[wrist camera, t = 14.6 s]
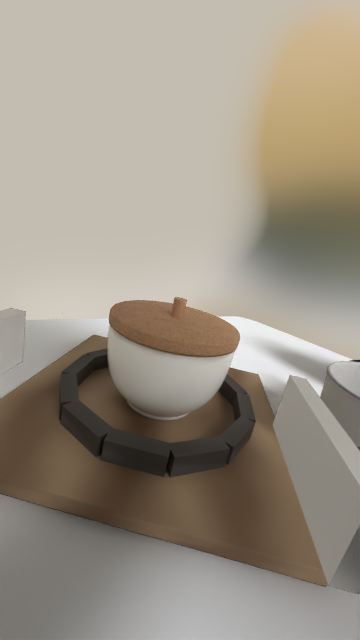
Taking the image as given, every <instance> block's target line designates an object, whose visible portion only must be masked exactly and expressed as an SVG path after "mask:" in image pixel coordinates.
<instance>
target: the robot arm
mask: <svg viewBox="0 0 360 640" xmlns="http://www.w3.org/2000/svg"><path fill="white" fill-rule="evenodd" d="M25 314H26V312H25V311H22V310H17V309H13V308H10V309H6V310H2V311H0V375H1V374H2V373H4V372H6V371H8V370H9V369H11V368H13V367H15V366H16V365H18V364H20V363H22V362H23V349H24V332H25ZM273 428H274V431H275V434H276V437H277V439H278V442H279V445H280V448H281V451H282V454H283V457H284V459H285V462H286V465H287V468H288V471H289V474H290V477H291V480H292V482H293V485H294V488H295V491H296V494H297V497H298V500H299V503H300V505H301V508H302V511H303V514H304V517H305V520H306V523H307V526H308V528H309V531H310V534H311V537H312V540H313V543H314V546H315V548H316V551H317V554H318V557H319V560H320V563H321V566H322V569H323V571H324V574H325V577H326V580H327V583H328V586H331V587H335V588H338V589H342V590H345V591H349V592H352V593H356V594H359V593H360V447H358V446H356V445H355V444H354V442H353V441H352V440H351V438H350V437H349V436H348V434H347V433H346V432H345V430H344V429H343V428H342V426H341V425H340V424H339V422H338V421H337V420H336V418H335V417H334V416H333V414H332V413H331V412H330V410H329V409H328V408H327V406H326V405H325V403H324V402H323V401H322V399H321V398H320V397H319V395H318V394H317V393H316V391H315V390H314V389H313V387H312V386H311V385H310V383H309V382H308V381H307V379H304V378H300V377H296V376H292V375H290V376H289V379H288V382H287V385H286V388H285V390H284V393H283V396H282V399H281V402H280V405H279V408H278V410H277V413H276V416H275V419H274V422H273Z"/></svg>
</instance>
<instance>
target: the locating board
mask: <svg viewBox="0 0 360 640" xmlns="http://www.w3.org/2000/svg"><path fill="white" fill-rule="evenodd" d="M107 342H108V338H106V337H102V336H98V335H92V336H91V337H90V338H88V339H87V340H85V341H84V342H82V343H81V344H79V345H78V346H77V347H75V348H74V349H72V350H71V351H69V352H68V353H67V354H65V355H64V356H62V357H61V358H59V359H58V360H56V361H55V362H54V363H52V364H51V365H49V366H48V367H46V368H45V369H43V370H42V371H41V372H39V373H38V374H36V375H35V376H33V377H32V378H30V379H29V380H28V381H26V382H25V383H23V384H22V385H20V386H19V387H17V388H16V389H15V390H13V391H12V392H10V393H9V394H7V395H6V396H5V397H3V398H2V399H0V494H4V495H7V496H11V497H14V498H18V499H21V500H25V501H28V502H32V503H35V504H39V505H42V506H46V507H49V508H53V509H56V510H60V511H63V512H67V513H70V514H74V515H77V516H81V517H84V518H88V519H91V520H95V521H98V522H102V523H105V524H109V525H112V526H116V527H119V528H123V529H126V530H130V531H133V532H137V533H140V534H144V535H147V536H151V537H154V538H158V539H161V540H165V541H168V542H172V543H175V544H179V545H182V546H186V547H189V548H193V549H196V550H200V551H203V552H207V553H210V554H214V555H217V556H221V557H224V558H228V559H231V560H235V561H238V562H242V563H245V564H249V565H252V566H256V567H259V568H263V569H266V570H270V571H273V572H277V573H281V574H284V575H288V576H291V577H295V578H298V579H302V580H305V581H309V582H312V583H316V584H319V585H323V586H327V584H328V583H327V580H326V577H325V574H324V571H323V569H322V566H321V563H320V560H319V557H318V554H317V551H316V548H315V546H314V543H313V540H312V537H311V534H310V531H309V528H308V526H307V523H306V520H305V517H304V514H303V511H302V508H301V505H300V503H299V500H298V497H297V494H296V491H295V488H294V485H293V482H292V480H291V477H290V474H289V471H288V468H287V465H286V462H285V459H284V457H283V454H282V451H281V448H280V445H279V442H278V439H277V437H276V434H275V431H274V428H273V422H274V419H275V417H274V415H273V412H272V409H271V407H270V404H269V401H268V399H267V396H266V393H265V391H264V388H263V385H262V383H261V380H260V378H259V375H258V374H254V373H250V372H246V371H242V370H238V369H234V368H229V370H228V373H227V375H226V377H225V379H224V381H223V383H222V385H221V387H220V388H219V390H218V392H217V393H216V394H215V395H214V396H213V398H212V399H211V400H210V401H209V402H207V403H206V404H205V405H204V406H202V407H201V408H199V409H197V410H195V411H193V412H190V413H189V414H188V415H187V416H185V417H183V418H181V419H178V420H172V421H162V420H155V419H151V418H148V417H145V416H143V415H141V414H139V413H137V412H136V411H134V410H133V409H132V408H131V407H130V406H129V405H128V403H127V401H126V399H125V398H124V397H123V396H122V395H121V394H120V392H119V391H118V389H117V388H116V386H115V384H114V382H113V380H112V378H111V375H110V371H109V366H108V356H107Z"/></svg>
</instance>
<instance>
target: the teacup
mask: <svg viewBox="0 0 360 640" xmlns="http://www.w3.org/2000/svg"><path fill="white" fill-rule="evenodd" d="M320 398H321V399H322V401H323V402H324V403H325V405H326V406H327V408H328V409H329V410H330V412H331V413H332V414H333V416H334V417H335V418H336V420H337V421H338V422H339V424H340V425H341V426H342V428H343V429H344V430H345V432H346V433H347V434H348V436H349V437H350V438H351V440H352V441H353V442H354V444H355V445H356V446H358V447H360V362H353V361H341V362H334V363H332V364H330V365H329V366H328V368H327V377H326V380H325V383H324V386H323V390H322V393H321V396H320Z"/></svg>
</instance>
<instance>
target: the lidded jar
mask: <svg viewBox="0 0 360 640" xmlns="http://www.w3.org/2000/svg"><path fill="white" fill-rule="evenodd" d="M186 302H187V300H186V299H183V298H179V297H175V298H174V303H173V304H172V303H166V302H157V301H145V300H134V301H124V302H120V303H118V304H115V305H114V306H113V307H112V308H111V310H110V314H109V324H110V326H109V332H108V342H107V356H108V366H109V371H110V375H111V378H112V380H113V382H114V384H115V386H116V388H117V389H118V391H119V392H120V394H121V395H122V396H123V397H124V398H125V399H126V401H127V403H128V405H129V406H130V407H131V408H132V409H133V410H134V411H136V412H137V413H139V414H141V415H143V416H145V417H148V418H151V419H155V420H162V421H172V420H178V419H181V418H183V417H185V416H187V415H188V414H189V413H190V412H193V411H195V410H197V409H199V408H201V407H202V406H204V405H205V404H206V403H207V402H209V401H210V400H211V399H212V398H213V396H214V395H215V394H216V393H217V392H218V390H219V388H220V387H221V385H222V383H223V381H224V379H225V377H226V375H227V373H228V370H229V368H230V365H231V362H232V359H233V355H234V352H235V350H236V348H237V346H238V343H239V340H240V334H239V332H238V330H237V329H236V328H235V327H234V326H232V325H231V324H230V323H228V322H226V321H225V320H223V319H221V318H219V317H216V316H214V315H211V314H209V313H206V312H203V311H200V310H197V309H193V308H190V307H186Z"/></svg>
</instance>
